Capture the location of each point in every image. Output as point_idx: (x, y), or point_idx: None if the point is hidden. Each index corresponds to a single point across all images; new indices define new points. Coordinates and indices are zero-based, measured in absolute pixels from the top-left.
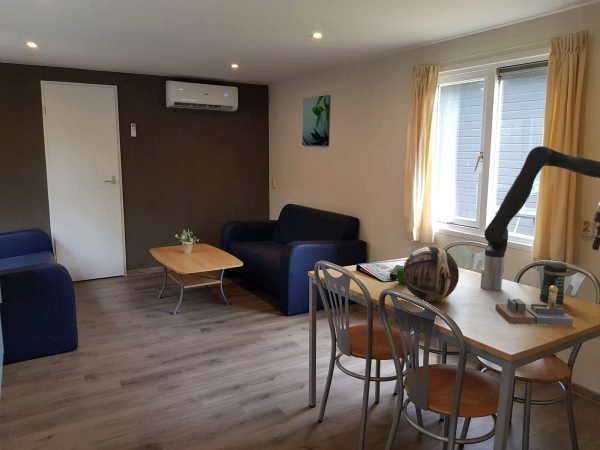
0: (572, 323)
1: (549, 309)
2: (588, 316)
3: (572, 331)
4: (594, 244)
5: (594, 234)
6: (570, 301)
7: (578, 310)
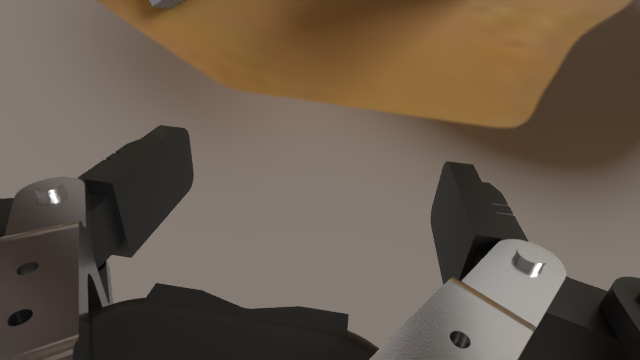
0: (164, 7)
1: None
2: (315, 80)
3: (117, 6)
4: (127, 160)
5: (441, 289)
6: (523, 22)
7: (380, 49)
